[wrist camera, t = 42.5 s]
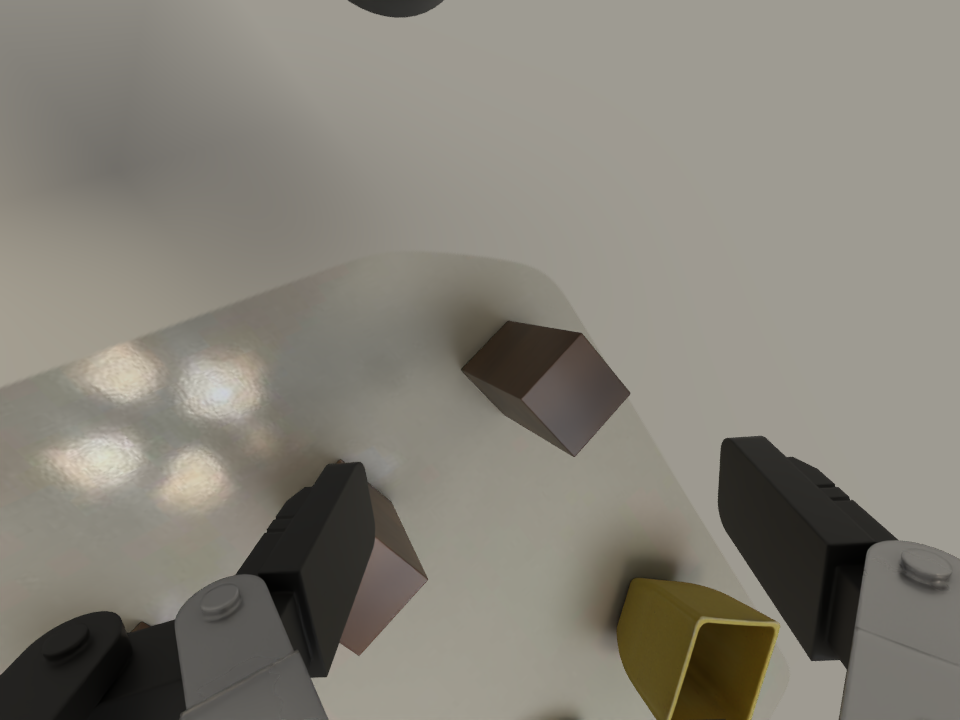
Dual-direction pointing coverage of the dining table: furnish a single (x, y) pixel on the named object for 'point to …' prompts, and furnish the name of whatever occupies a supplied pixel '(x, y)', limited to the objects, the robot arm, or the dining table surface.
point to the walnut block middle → (383, 578)
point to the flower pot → (694, 650)
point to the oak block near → (548, 382)
